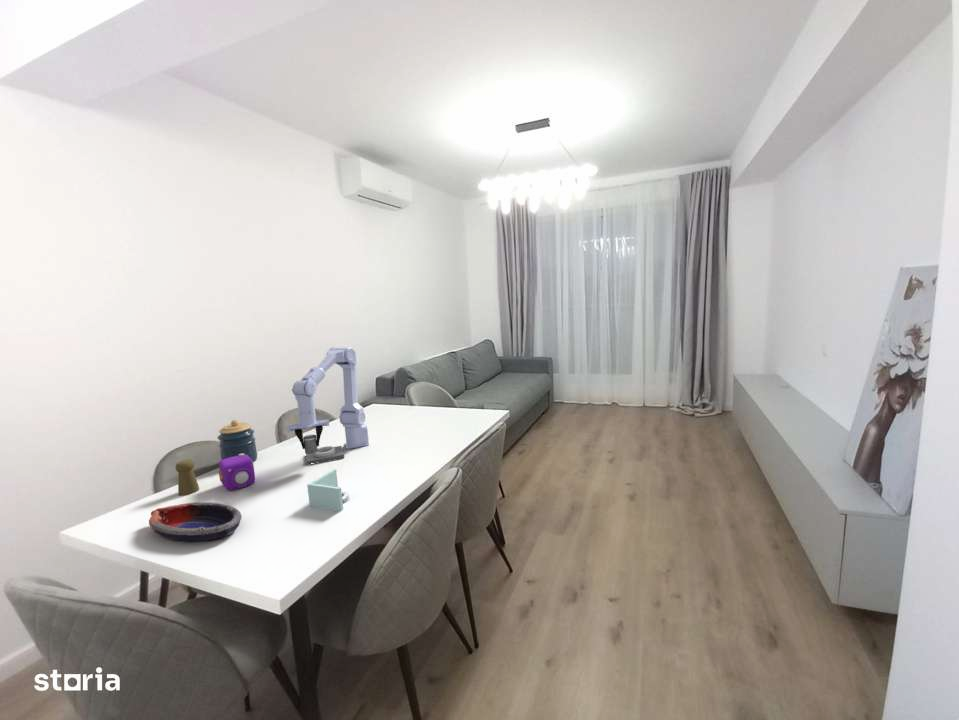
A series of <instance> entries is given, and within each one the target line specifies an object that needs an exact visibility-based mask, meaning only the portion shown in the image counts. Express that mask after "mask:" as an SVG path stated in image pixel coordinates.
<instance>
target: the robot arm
mask: <svg viewBox="0 0 959 720" xmlns="http://www.w3.org/2000/svg"><path fill="white" fill-rule="evenodd" d="M335 364H336V365H337V366H339V367H340V368H341V369H342V374H343V375H342V376H343V394H344V395H343V396H344V397H343V398H344V405H343V406H342V407H341V408H340V411H339V413H340V414H339V416H338V417H339V419H338V420H339V422H340V424H341V425H342V427H343V428H344V433H345V442H344V446H345V448H346V450H349V449H350V450H351V449H355V448H362V447H365V446H369V445H370V442H369V433H368V432H369V431H368V427H367V423H365V421H366V414H365V409H364V407H363V406H362V405H360V404H359V403H358V386H357V353H356V350H355V349H354V348H353V347H351V346H348V347H346V346H345V347H343V346H342V347H335V346H334V347H330V348H329V349H328V350H327V351H326V355H325V356H324V358H323V360H322V361H321V362H320V363H319V365H317V366H314V367H310V369H309V371H308V372H307V373H306V374H305V375H303V377H302V378H301V379H299V380H296V381H295V382H294V383H293V385H292V389H291V391H292V394H293V395H294V397H295V400H296V402H297V410H298V417H299V418H298V419H299V422H298V423H295V424H294V423H293V424H291V425H286V430H287V433H290V432H294V435H295V436H296V438H297V439H298V440H299V442H300V444H301V447H302V448H301V449H302V450H305V446H304V440H303V437H304V435H303V434H304V433H303V430H307V429H313V428H315V435H316V440H317V447H320V441H321V436H322V433H323V430H324V429H323V428H324V427H325V426H326V427H329V426H330V420H329V419H323V420H317V416H316V409H315V408H316V407H315V398H314V395H315V394H316V391H317V388H318V385H320V383H321V382H322V381H323V380H324V379H325V377H326V372H327V371H329V370H330V369H331V368H332V367H333V366H334V365H335Z"/></svg>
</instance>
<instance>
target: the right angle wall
mask: <svg viewBox="0 0 959 720" xmlns="http://www.w3.org/2000/svg"><path fill="white" fill-rule="evenodd" d="M338 483H339V482H338V475H337V469H336V468H334V469H331V470H329V471H328V472H326V473H324V474H322V475H321V476H319V477H318V478H316V479H314V480H313V481H311V482H309V483H308V484H307V485H306V486H307V494H308V503H309V504H308V505H309V506H310V507H315V508H321V509H329V510H334V511H339V512H340V511H343V510H344V504H345V503H347V502H349V501H350V493H349V492H348V491H343V490H342V487H340V486H338Z"/></svg>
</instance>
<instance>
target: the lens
mask: <svg viewBox="0 0 959 720" xmlns="http://www.w3.org/2000/svg"><path fill="white" fill-rule="evenodd" d="M303 440H304V446H305V449H304V453H305V455H306V454H312V453H316V452H317V451H318V446H317V437H316V434H307V435H305V436H304V435H303Z"/></svg>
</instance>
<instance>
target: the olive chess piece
mask: <svg viewBox="0 0 959 720" xmlns="http://www.w3.org/2000/svg"><path fill="white" fill-rule="evenodd" d="M194 467H195V462H194V461H193V460H191V459H184V460H181V461H178V462H177V463H176V465H175V471H176V472H177V474H178V477H177V478H178V480H177V481H178V483H177V484H178V485H177V486H178V487H177V488H178V490H177V491H178V492H177V493H178V496H180V497H181V496H188V495H189V496H190V495H192V494H195V493H197V492H198V491H199V490H200V486H199V484H198V480H197V477H196V474H195V471H194Z"/></svg>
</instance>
